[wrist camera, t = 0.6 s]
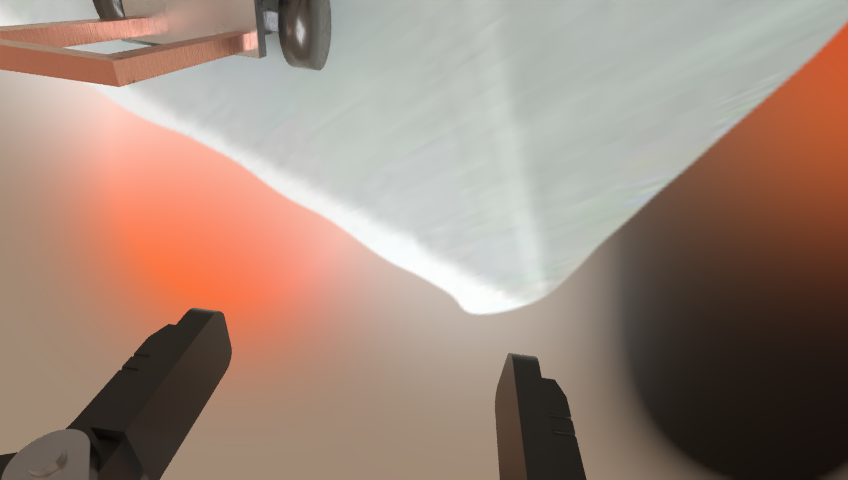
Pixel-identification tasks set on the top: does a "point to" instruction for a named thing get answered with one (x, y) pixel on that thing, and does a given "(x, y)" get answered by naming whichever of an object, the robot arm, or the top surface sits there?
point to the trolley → (167, 38)
